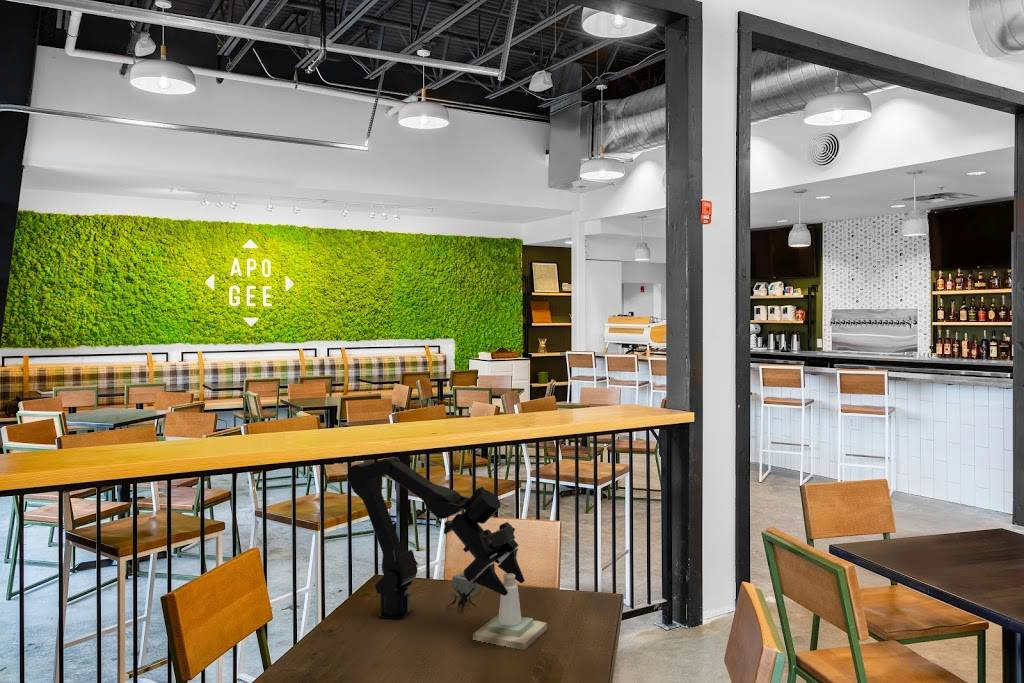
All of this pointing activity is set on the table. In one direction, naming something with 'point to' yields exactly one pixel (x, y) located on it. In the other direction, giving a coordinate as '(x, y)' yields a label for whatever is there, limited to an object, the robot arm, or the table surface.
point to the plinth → (509, 639)
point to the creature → (462, 599)
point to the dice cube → (464, 585)
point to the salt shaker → (510, 603)
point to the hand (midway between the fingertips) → (515, 588)
